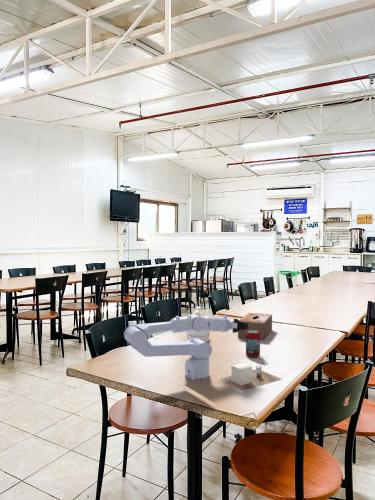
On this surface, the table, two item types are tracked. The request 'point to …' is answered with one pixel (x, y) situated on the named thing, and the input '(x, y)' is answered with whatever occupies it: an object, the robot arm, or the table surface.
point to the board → (254, 380)
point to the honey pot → (201, 334)
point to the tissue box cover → (257, 324)
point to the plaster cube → (241, 374)
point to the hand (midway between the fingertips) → (242, 325)
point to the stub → (258, 371)
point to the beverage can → (252, 343)
